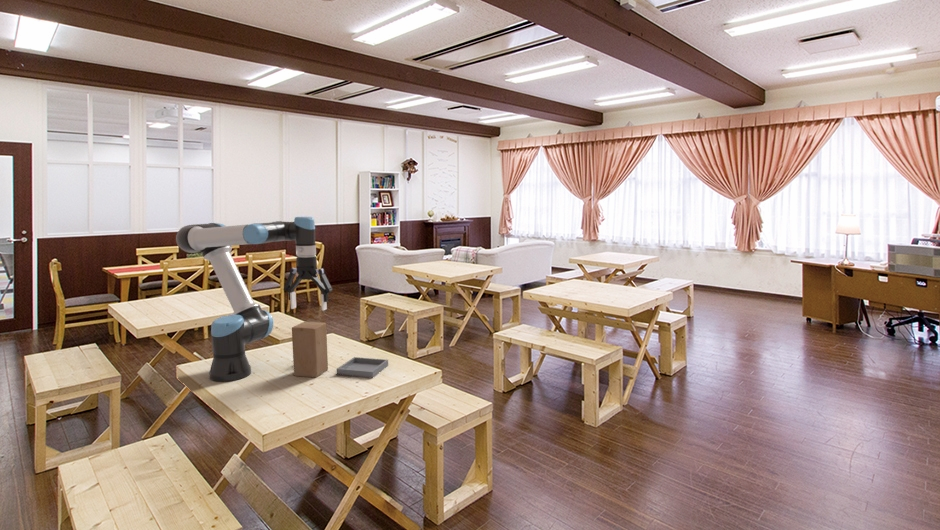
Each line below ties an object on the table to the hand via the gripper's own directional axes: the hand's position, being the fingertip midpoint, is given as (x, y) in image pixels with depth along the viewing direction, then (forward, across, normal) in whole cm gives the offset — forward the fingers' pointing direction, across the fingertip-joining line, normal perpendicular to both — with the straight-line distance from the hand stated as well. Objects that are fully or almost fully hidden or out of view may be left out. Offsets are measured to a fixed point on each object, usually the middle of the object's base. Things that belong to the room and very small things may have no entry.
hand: (308, 309), depth 206 cm
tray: (+26, +19, +8) cm, 33 cm away
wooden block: (+27, 0, 0) cm, 27 cm away
